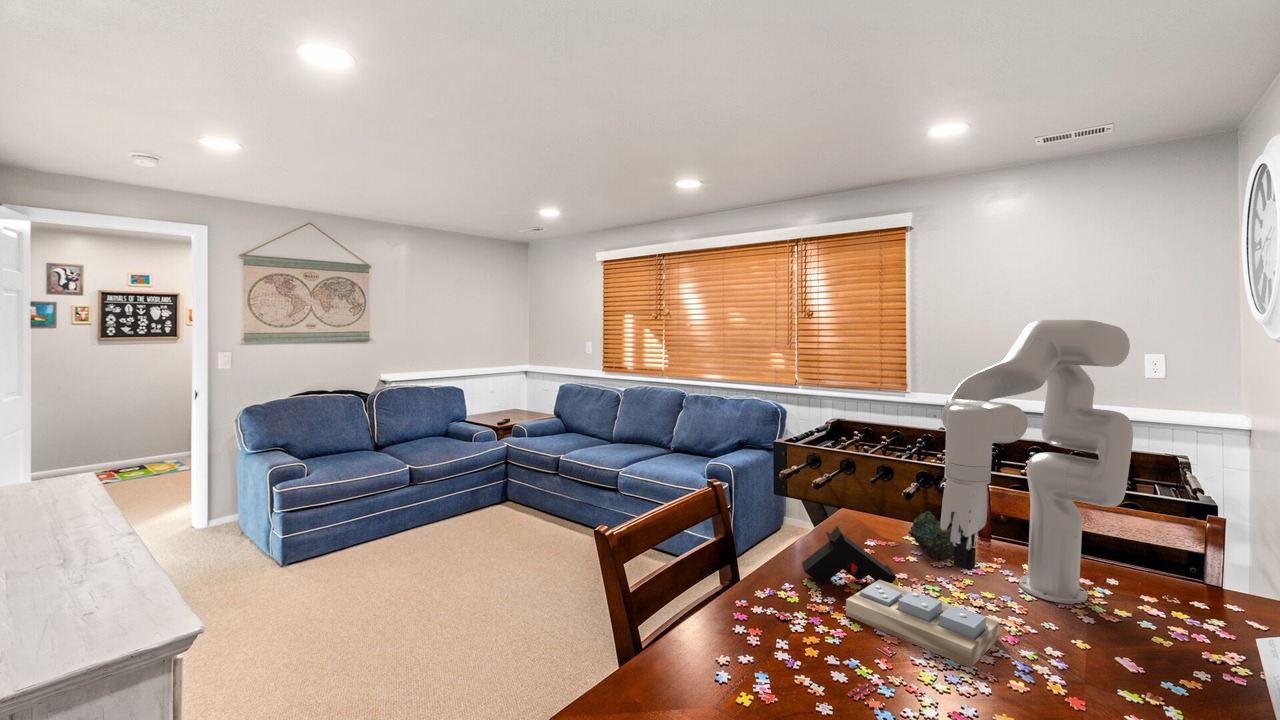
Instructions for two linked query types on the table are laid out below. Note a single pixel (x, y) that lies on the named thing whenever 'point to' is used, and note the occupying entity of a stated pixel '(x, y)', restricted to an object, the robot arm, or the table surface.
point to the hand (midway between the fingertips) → (964, 567)
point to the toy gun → (845, 561)
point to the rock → (932, 536)
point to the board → (922, 628)
